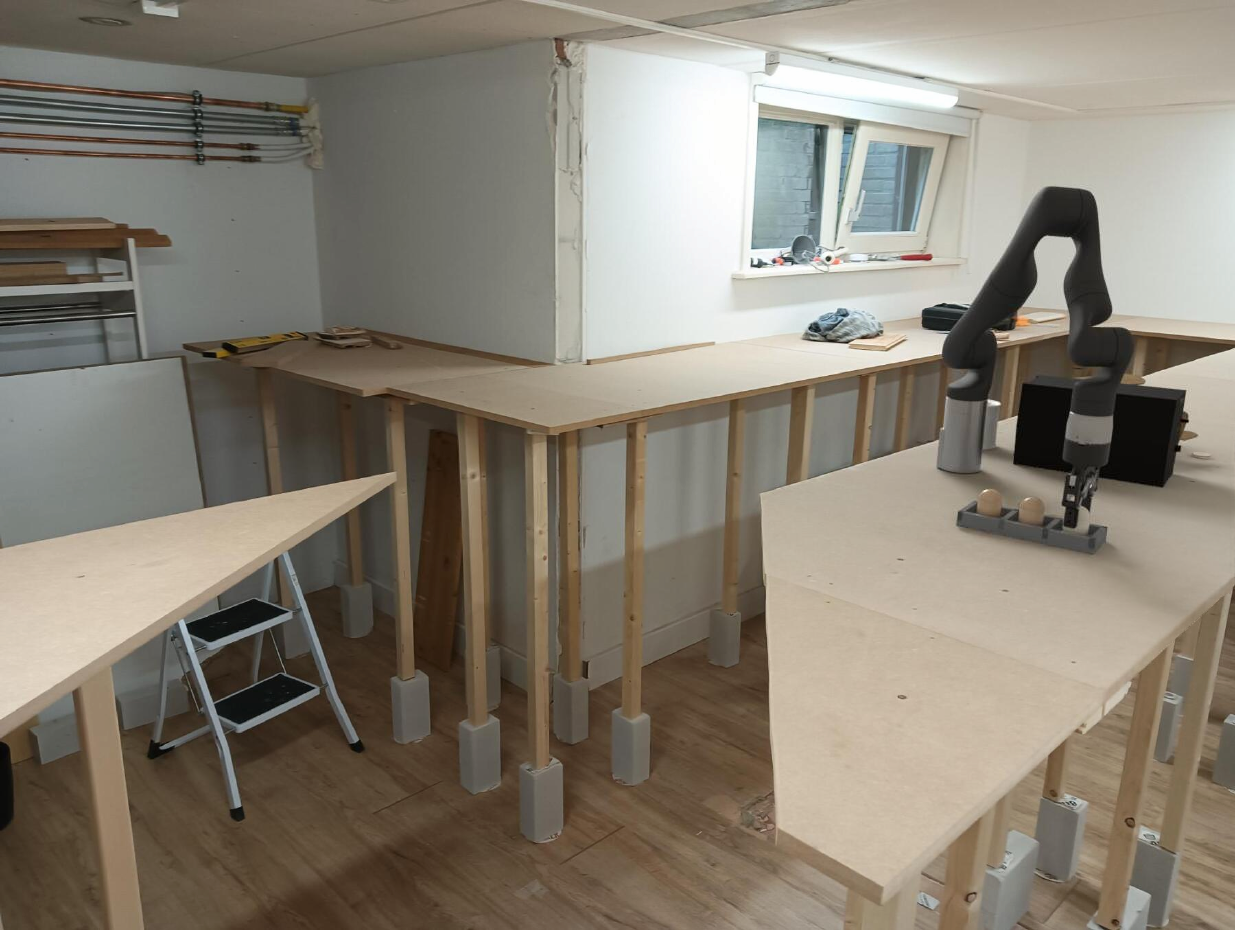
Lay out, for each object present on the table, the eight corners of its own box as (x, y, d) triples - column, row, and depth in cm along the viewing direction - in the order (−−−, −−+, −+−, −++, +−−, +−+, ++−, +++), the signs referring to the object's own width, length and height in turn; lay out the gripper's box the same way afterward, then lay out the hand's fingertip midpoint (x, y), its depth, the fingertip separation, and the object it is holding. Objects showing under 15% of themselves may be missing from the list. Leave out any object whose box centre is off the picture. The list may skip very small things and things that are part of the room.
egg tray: (956, 525, 186) (957, 511, 185) (972, 513, 193) (974, 500, 192) (1092, 554, 171) (1095, 539, 170) (1105, 540, 177) (1107, 526, 177)
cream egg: (1058, 537, 176) (1062, 506, 175) (1065, 531, 180) (1069, 500, 178) (1083, 542, 174) (1088, 511, 172) (1090, 536, 177) (1094, 505, 175)
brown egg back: (972, 519, 186) (975, 489, 185) (980, 514, 189) (983, 484, 188) (995, 524, 183) (998, 494, 182) (1002, 518, 187) (1006, 488, 185)
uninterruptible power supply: (1030, 451, 241) (1039, 374, 235) (1181, 474, 221) (1195, 389, 215) (1011, 465, 228) (1021, 383, 223) (1170, 490, 208) (1184, 401, 203)
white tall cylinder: (1001, 450, 241) (1010, 373, 236) (965, 450, 242) (973, 372, 236) (986, 440, 252) (994, 365, 246) (951, 439, 252) (959, 365, 246)
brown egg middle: (1014, 528, 181) (1018, 497, 180) (1021, 522, 185) (1025, 492, 183) (1038, 533, 179) (1042, 502, 177) (1045, 527, 182) (1049, 496, 180)
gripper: (1076, 426, 179) (1065, 508, 183) (1054, 441, 168) (1043, 527, 173) (1120, 433, 174) (1108, 516, 179) (1100, 448, 164) (1087, 536, 168)
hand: (1076, 521), depth 176 cm, fingers open, 8 cm apart
